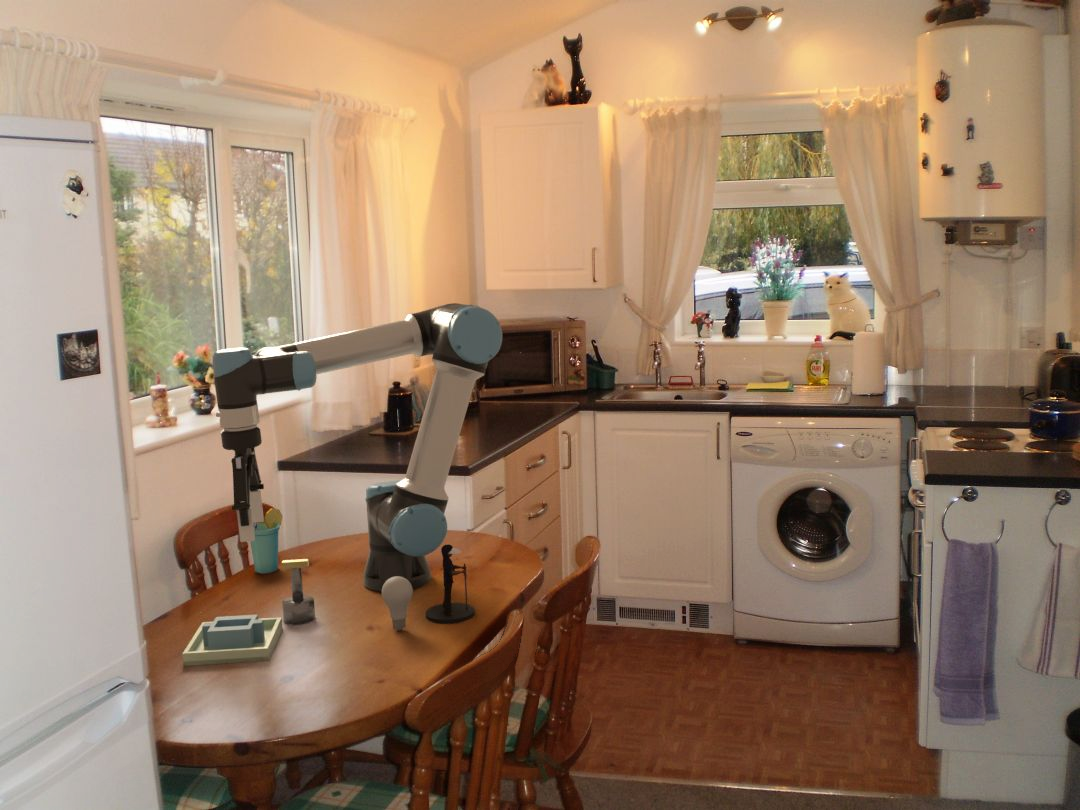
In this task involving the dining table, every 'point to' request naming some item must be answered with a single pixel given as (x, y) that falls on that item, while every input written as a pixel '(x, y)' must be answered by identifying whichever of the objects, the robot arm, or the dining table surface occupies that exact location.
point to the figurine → (448, 610)
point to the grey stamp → (297, 596)
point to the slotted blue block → (233, 632)
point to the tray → (259, 652)
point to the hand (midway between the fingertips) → (252, 531)
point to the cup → (266, 542)
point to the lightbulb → (397, 599)
